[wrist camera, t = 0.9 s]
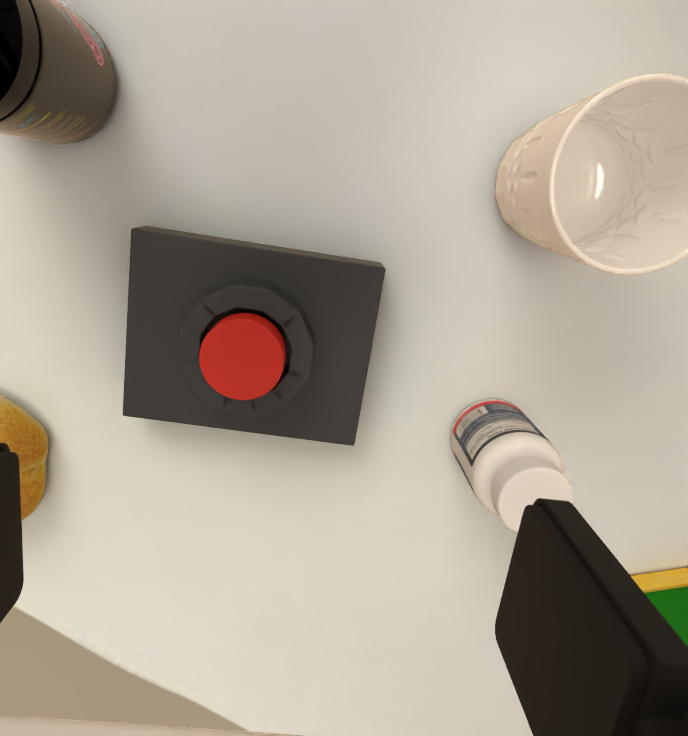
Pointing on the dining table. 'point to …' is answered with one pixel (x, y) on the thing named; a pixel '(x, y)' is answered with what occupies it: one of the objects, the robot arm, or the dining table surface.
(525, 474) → the pill bottle
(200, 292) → the control box
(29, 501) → the bread roll
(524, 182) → the white cup
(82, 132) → the supplement container
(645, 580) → the dish sponge
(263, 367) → the button
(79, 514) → the dining table surface
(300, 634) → the dining table surface
